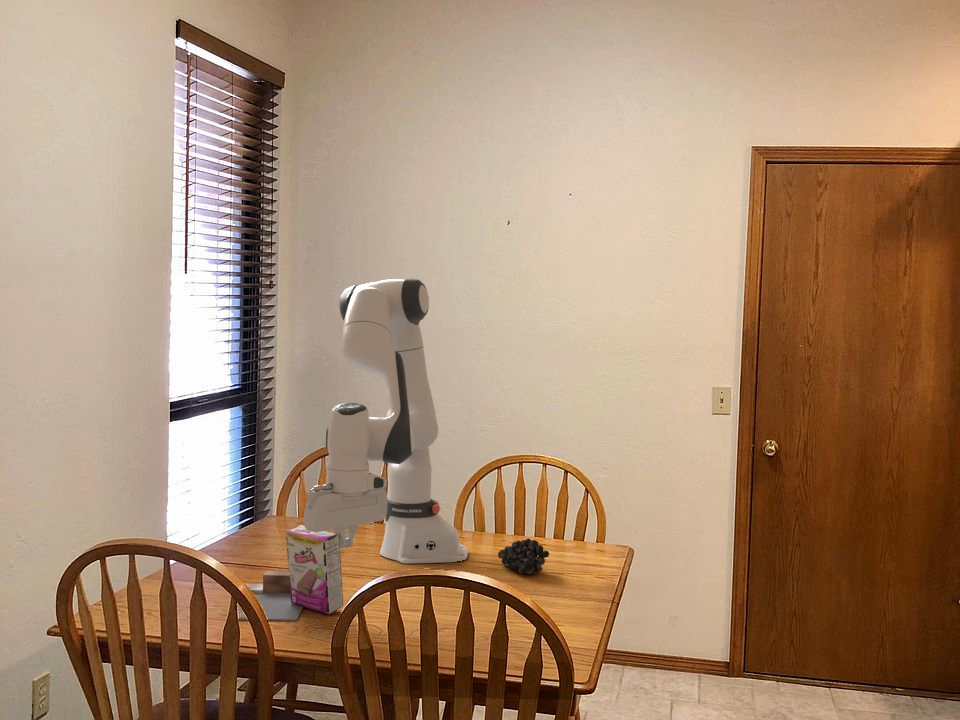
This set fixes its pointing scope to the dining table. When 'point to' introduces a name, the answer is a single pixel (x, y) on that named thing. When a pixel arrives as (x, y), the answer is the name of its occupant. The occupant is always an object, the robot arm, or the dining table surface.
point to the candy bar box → (314, 569)
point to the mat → (277, 607)
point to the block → (272, 583)
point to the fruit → (524, 556)
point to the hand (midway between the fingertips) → (345, 547)
